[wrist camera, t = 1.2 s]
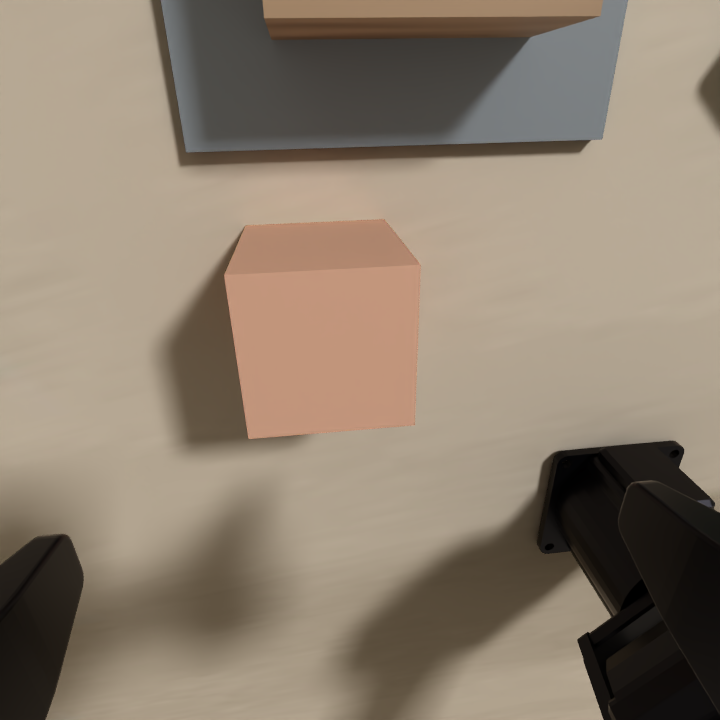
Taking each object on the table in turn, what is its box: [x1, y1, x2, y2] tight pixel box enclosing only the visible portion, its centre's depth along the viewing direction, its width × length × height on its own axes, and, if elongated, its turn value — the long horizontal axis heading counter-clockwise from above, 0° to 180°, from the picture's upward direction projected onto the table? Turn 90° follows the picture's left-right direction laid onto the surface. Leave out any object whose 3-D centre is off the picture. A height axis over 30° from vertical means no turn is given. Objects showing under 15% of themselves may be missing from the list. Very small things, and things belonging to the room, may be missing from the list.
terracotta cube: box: [224, 219, 421, 439], centre depth 16 cm, size 5×5×6 cm
